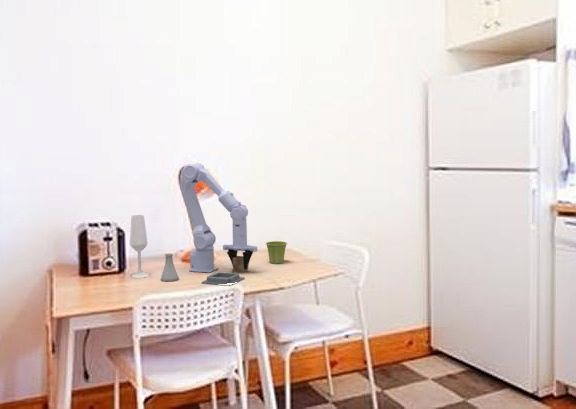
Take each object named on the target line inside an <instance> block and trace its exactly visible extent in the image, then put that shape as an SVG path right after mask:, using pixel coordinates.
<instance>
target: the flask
mask: <svg viewBox="0 0 576 409" xmlns="http://www.w3.org/2000/svg"><path fill="white" fill-rule="evenodd" d="M164 256H165V263H164V267H163V270H162V273H161V275H160V276H161V277H160V281H163V282H172V281H173V282H174V281H179V280H180V278H179V275H178V272H177V269H176V267H175V264H174V259H173V256H174V253H171V252H169V253H164Z"/></svg>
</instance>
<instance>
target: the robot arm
mask: <svg viewBox="0 0 576 409" xmlns="http://www.w3.org/2000/svg"><path fill="white" fill-rule="evenodd" d="M180 175H181V179H180V183H179V184H180V185H179V187H180V192H181V193H182V197H183V200H184V203H185V206H186V209H187V212H188V215H189V219H190V220H191V224H192V226H193V232H192V235H193V242H192V243H193V246H194V247H195V248H192V249H191V250H190V253H189V270H188V271H189V272H197V273H199V272H200V273H211V272H213V271H216V270H218V269H219V267H217V266H215V248H214V245H215V244H216V239H217V238H216V235H215V233H213V231H212V230H211V228H210V226H209V225H208V223H206V219H205V216H204V213H203V210H202V207H201V205H200V202H199V199H198V195H197V192H196V189H195V187H196V186H197V184H198V182H201V183H204V184H206V185H207V187H208V188H210V190H211V191H213V192H214V193H215V194H216V195H217V197H218V202H219V203H220V204H221V205H222V206H223V207H224V209H226V211H228V212H229V215H230V218H231V219H232V244H224V245H222V251H226V254H227V256H228V258H229V260H230V262H231V266H232V267H233V258H234V257H236V256H238V252H239V251H240V252H241V251H242V256H243V258H244V269H248V270H249V264H250V261H251V258H252V256H253V254H254V253H257V252H258V246H255V245H250V244H249V245H248V226H247V225H248V224H247V217H248V214H249V209H248V208H247V206H246V205H245V204H242V202H241V201H239V200H238V199H237V198H236V197H235V196H234V192H232V191H231V192H230V191H229V190H225V189H224V188H223V187H222V186H221V184H219V182H218V181H217V180H216V178H215V177H214V176H213V175H212V174H211V172H210V170H208V169H207V168H205V166H204V165H203V164H202V163H198V162H197V163H192V164H191V163H188V164H185V165H184V167H183V168H182V170H181V171H180Z"/></svg>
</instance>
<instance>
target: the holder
mask: <svg viewBox="0 0 576 409" xmlns="http://www.w3.org/2000/svg"><path fill="white" fill-rule="evenodd" d="M243 280H245V277H244V276H240V273H233V272H223V271H219V272H214V273H212V274H209V275H208V276H206V279H205V280H202V281H201V284H203V285H215V286H219V285H218V284H227V283H235V282H237V283H239V282H242V281H243ZM235 284H236V283H235Z"/></svg>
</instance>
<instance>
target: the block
mask: <svg viewBox="0 0 576 409" xmlns="http://www.w3.org/2000/svg"><path fill="white" fill-rule="evenodd" d="M248 271H249V268H248V269H244V258H243V255H237V256H236V257H234V258H233V266H232V273H239V274H245V273H247V272H248Z"/></svg>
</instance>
